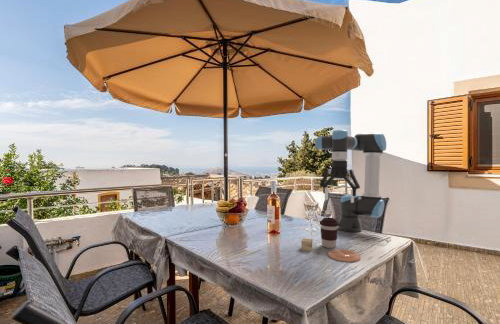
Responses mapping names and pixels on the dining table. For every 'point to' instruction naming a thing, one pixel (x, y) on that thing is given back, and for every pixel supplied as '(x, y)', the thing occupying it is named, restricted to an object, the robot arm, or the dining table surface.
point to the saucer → (344, 255)
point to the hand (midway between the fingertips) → (338, 201)
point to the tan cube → (306, 244)
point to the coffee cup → (329, 232)
